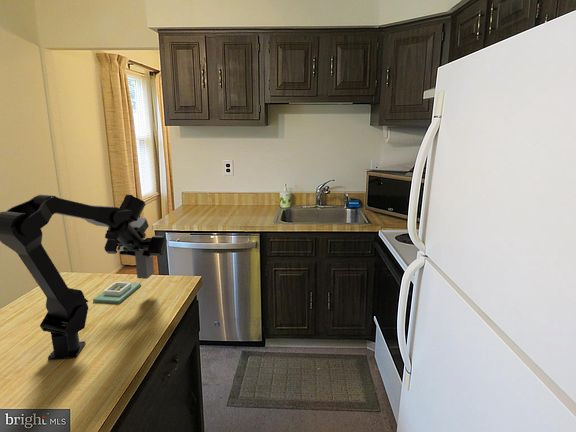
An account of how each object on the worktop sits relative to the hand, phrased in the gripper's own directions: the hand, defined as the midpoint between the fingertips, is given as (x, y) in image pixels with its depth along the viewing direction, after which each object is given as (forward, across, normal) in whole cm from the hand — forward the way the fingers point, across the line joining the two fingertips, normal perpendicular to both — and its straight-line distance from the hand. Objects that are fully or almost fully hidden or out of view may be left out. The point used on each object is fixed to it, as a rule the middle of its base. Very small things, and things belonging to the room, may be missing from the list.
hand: (146, 255), depth 121 cm
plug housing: (+4, 0, +6) cm, 7 cm away
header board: (+8, +10, +11) cm, 17 cm away
